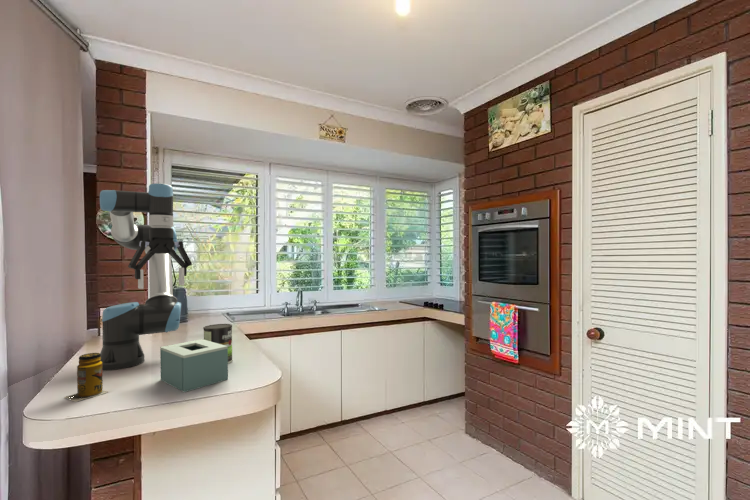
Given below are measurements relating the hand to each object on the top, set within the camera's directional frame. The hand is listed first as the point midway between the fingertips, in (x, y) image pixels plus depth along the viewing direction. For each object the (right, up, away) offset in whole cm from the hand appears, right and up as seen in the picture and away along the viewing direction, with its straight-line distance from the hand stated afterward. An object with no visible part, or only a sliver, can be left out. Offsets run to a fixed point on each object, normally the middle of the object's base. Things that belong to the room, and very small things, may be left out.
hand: (162, 286), depth 131 cm
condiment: (-10, -31, -21) cm, 39 cm away
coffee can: (+16, -31, +10) cm, 36 cm away
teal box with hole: (+16, -30, -9) cm, 35 cm away
